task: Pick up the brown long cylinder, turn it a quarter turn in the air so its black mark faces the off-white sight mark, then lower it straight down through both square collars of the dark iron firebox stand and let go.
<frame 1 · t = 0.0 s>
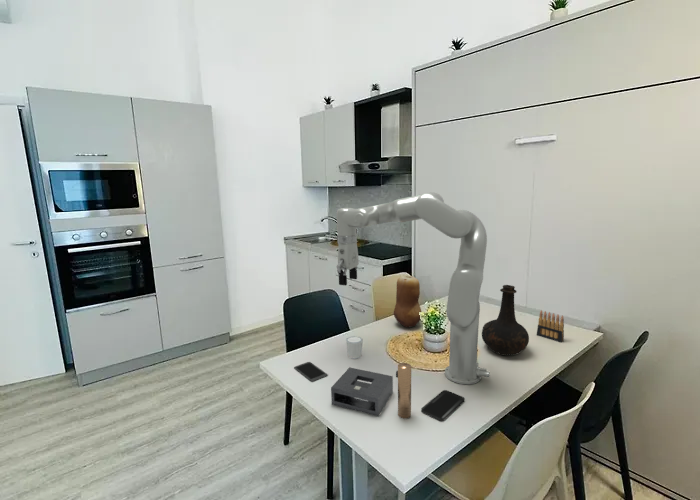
hand: (348, 281, 145), 31 cm above the table, tool pointing down, fingers open, 9 cm apart
ammunition clip: (549, 338, 161), on the table
glass bottle: (504, 350, 151), on the table
cell phone: (310, 373, 138), on the table
brown long cylinder: (404, 414, 111), on the table
phone: (443, 407, 115), on the table
firebox: (363, 398, 120), on the table
white cylinder: (354, 355, 150), on the table
butternut squash: (407, 326, 180), on the table
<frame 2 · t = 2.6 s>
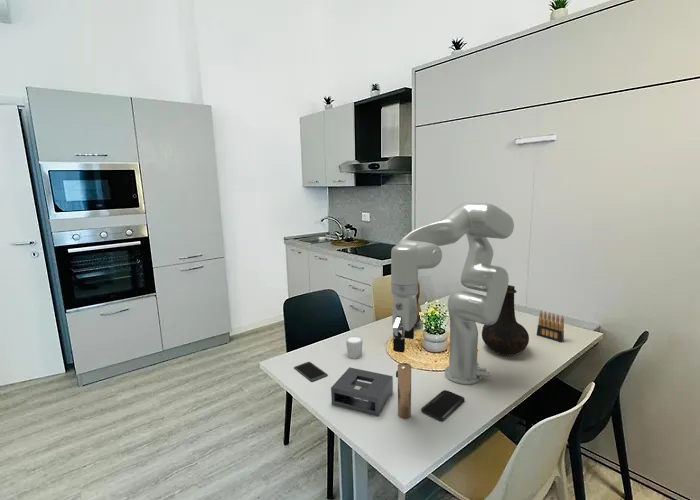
hand: (403, 344, 107), 23 cm above the table, tool pointing down, fingers open, 9 cm apart
nothing on the table moved.
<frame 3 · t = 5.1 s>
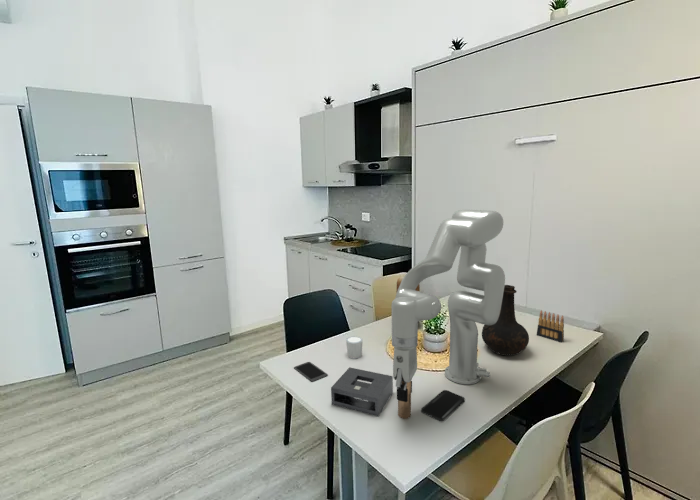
hand: (404, 395, 110), 6 cm above the table, tool pointing down, fingers closed on brown long cylinder, 4 cm apart
brown long cylinder: (404, 414, 111), on the table, touching gripper
everything else where it was.
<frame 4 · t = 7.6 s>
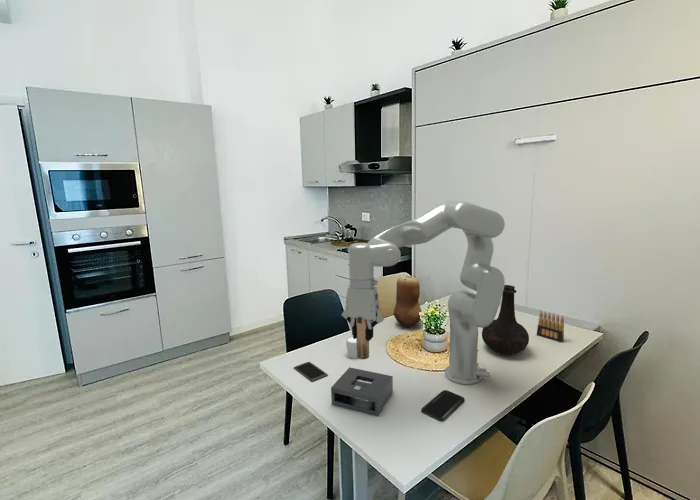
hand: (362, 337, 116), 21 cm above the table, tool pointing down, fingers closed on brown long cylinder, 4 cm apart
brown long cylinder: (363, 356, 117), point 15 cm above the table, touching gripper
everything else where it was.
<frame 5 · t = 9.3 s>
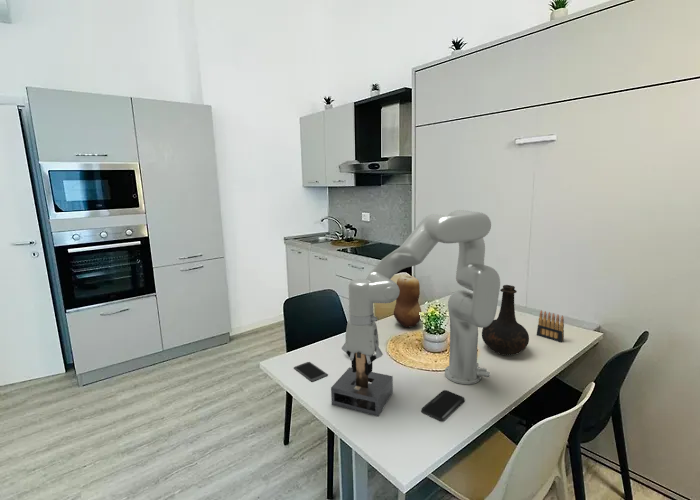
hand: (362, 371, 118), 10 cm above the table, tool pointing down, fingers closed on brown long cylinder, 4 cm apart
brown long cylinder: (362, 389, 119), point 3 cm above the table, touching gripper
everything else where it was.
when the fingers open (8 cm above the table, at t = 10.4 s): brown long cylinder drops 1 cm, resting in firebox.
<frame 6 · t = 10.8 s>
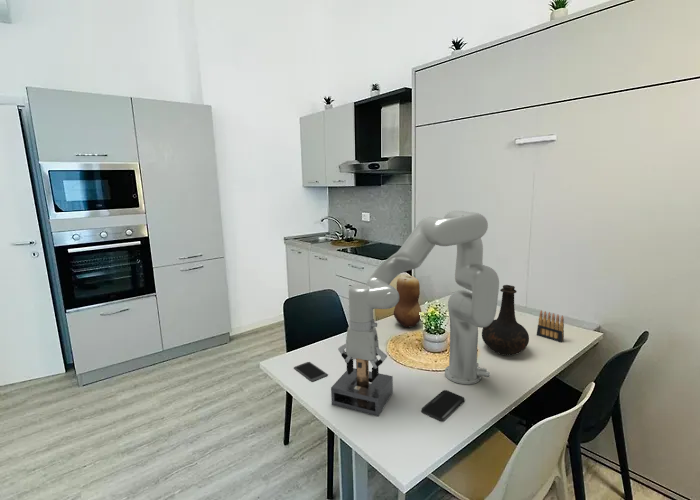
hand: (362, 374, 118), 8 cm above the table, tool pointing down, fingers open, 8 cm apart
brown long cylinder: (363, 398, 120), resting in firebox
everything else where it was.
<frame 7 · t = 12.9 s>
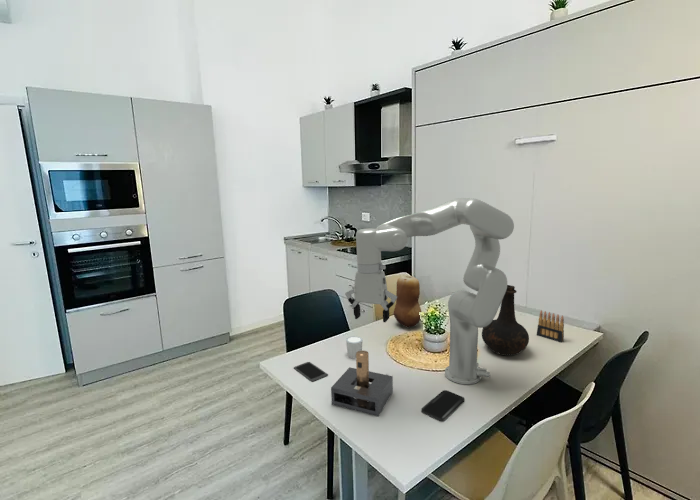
hand: (371, 319, 118), 26 cm above the table, tool pointing down, fingers open, 9 cm apart
nothing on the table moved.
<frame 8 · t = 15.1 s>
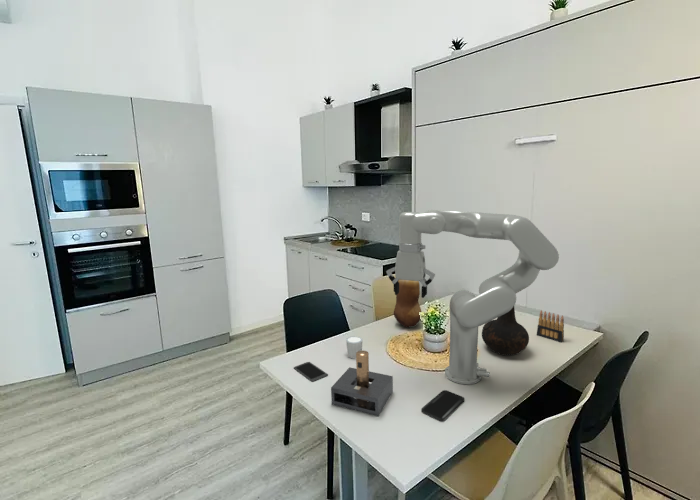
hand: (410, 295, 129), 30 cm above the table, tool pointing down, fingers open, 9 cm apart
nothing on the table moved.
at the end: brown long cylinder 0.1 cm off-centre on the firebox, point 0.0 cm above the firebox's base; brown long cylinder tilted 0°; the gripper is holding nothing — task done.
